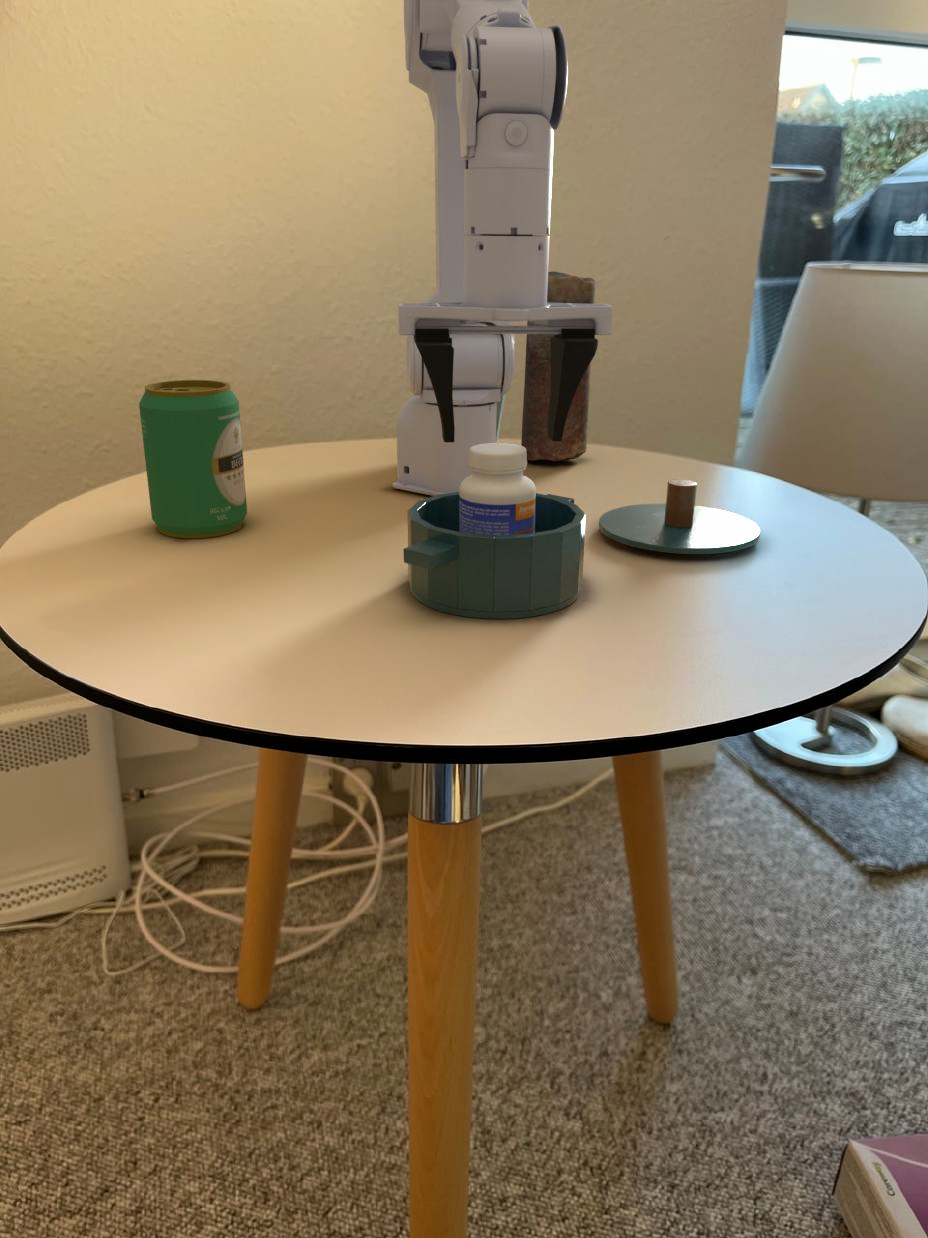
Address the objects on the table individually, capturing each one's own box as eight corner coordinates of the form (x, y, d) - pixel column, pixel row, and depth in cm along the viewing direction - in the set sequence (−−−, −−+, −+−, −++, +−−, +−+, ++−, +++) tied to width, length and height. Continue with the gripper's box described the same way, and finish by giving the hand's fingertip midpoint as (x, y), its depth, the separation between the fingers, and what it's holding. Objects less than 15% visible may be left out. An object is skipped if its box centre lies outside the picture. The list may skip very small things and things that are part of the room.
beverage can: (223, 543, 81) (210, 395, 76) (135, 535, 82) (117, 390, 78) (262, 517, 88) (253, 380, 84) (181, 511, 90) (167, 377, 85)
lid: (569, 540, 82) (572, 485, 81) (642, 507, 92) (646, 457, 91) (720, 572, 75) (727, 513, 73) (782, 532, 85) (789, 479, 83)
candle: (550, 448, 116) (558, 269, 109) (600, 458, 111) (611, 271, 104) (507, 458, 111) (512, 270, 103) (557, 469, 106) (566, 273, 99)
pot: (348, 603, 68) (345, 524, 66) (494, 542, 82) (496, 475, 79) (494, 646, 61) (496, 560, 59) (628, 572, 75) (633, 500, 73)
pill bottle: (527, 596, 68) (532, 458, 65) (451, 590, 69) (452, 454, 66) (537, 571, 73) (542, 442, 70) (466, 566, 74) (468, 438, 71)
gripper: (399, 235, 61) (402, 452, 66) (628, 237, 62) (614, 449, 67) (395, 233, 67) (398, 431, 72) (603, 235, 69) (592, 429, 74)
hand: (501, 439), depth 70 cm, fingers open, 7 cm apart
